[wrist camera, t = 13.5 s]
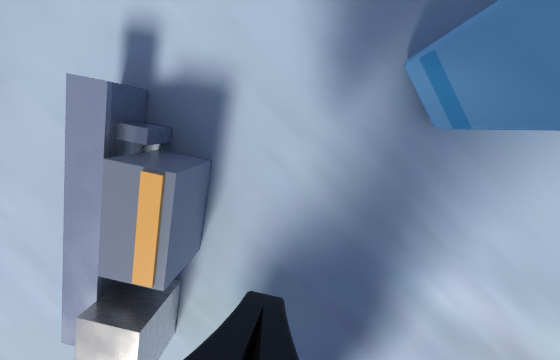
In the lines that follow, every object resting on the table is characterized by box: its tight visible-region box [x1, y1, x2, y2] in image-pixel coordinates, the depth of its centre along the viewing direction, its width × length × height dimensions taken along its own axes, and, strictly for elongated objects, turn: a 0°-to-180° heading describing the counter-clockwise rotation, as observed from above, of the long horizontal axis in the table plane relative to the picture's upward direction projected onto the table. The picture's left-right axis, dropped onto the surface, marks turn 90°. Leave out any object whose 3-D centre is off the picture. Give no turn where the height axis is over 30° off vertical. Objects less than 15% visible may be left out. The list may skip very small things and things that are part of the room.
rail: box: [61, 73, 181, 360], centre depth 18 cm, size 19×6×6 cm, turn 169°
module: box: [98, 150, 211, 291], centre depth 17 cm, size 7×4×6 cm, turn 170°
